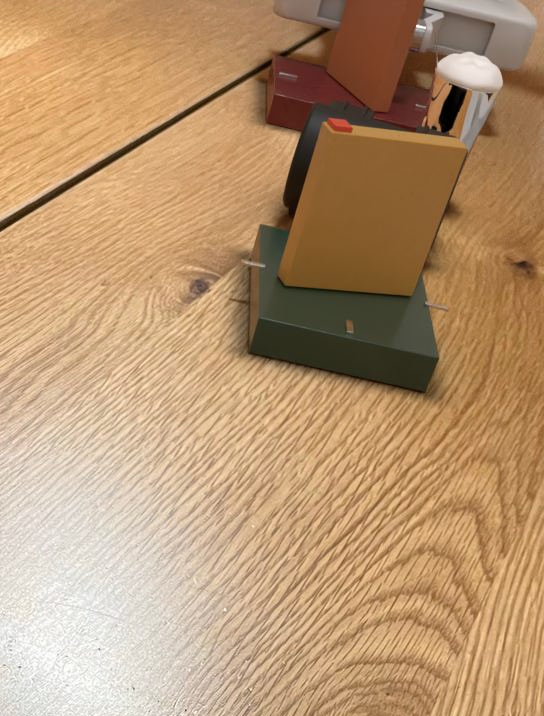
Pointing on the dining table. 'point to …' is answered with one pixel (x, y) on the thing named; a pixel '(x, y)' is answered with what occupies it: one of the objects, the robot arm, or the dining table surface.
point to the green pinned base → (339, 323)
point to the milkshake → (462, 96)
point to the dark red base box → (329, 96)
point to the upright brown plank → (373, 48)
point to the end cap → (309, 140)
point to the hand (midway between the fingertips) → (410, 37)
